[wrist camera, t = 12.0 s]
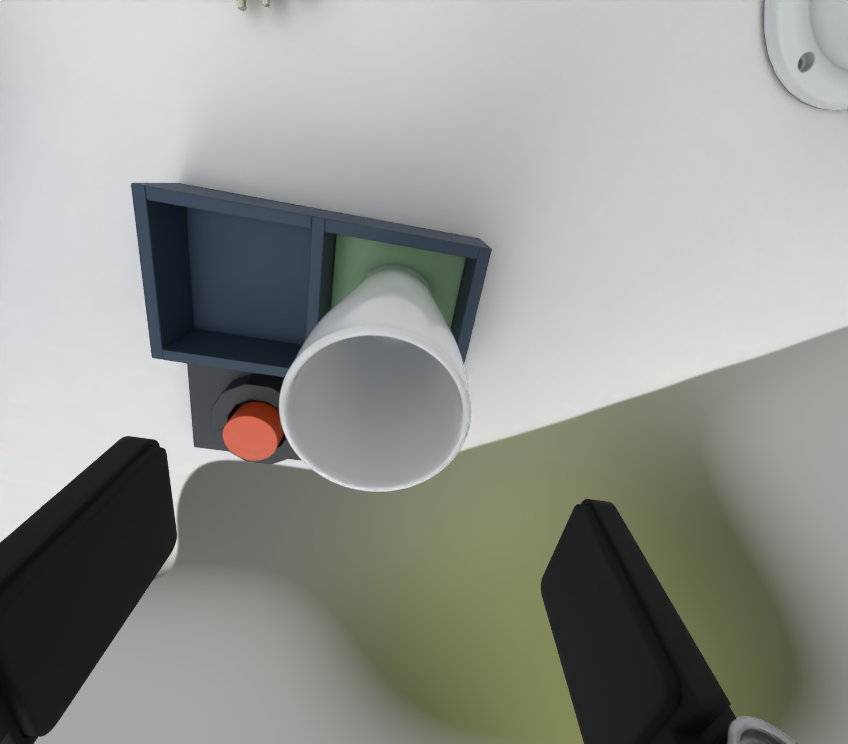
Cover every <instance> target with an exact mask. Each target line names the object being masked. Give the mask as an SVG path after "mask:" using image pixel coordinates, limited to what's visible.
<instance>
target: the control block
mask: <svg viewBox="0 0 848 744" xmlns="http://www.w3.org/2000/svg"><path fill="white" fill-rule="evenodd" d="M187 365H188V377H189V389H190V402H191V414H192V427H193V439H194V447H199V448H207V449H215V450H223V451H229V452H231V451H230V450H229V449H228V448H227V446H226V445H225V442H224V440H223V429H224V427H225V425H226V424H227V422H228V421H229V420H230V419H231V417H232V416H233V415H234V413H235V412H236V411H237V410H238V408H239V407H241V406H242V405H244V404H246V403H249V402H264V403H267V404H269V405H271V406H273V407H275V408H276V409H277V410H278V411H279V397H280V391H281V387H282V384H283V380H284V378H285V377H280V376H273V375H266V374H259V373H252V372H245V371H238V370H231V369H224V368H217V367H210V366H204V365H197V364H190V363H187ZM231 453H232V452H231ZM233 454H234V453H233ZM234 455H235V454H234ZM241 459H243V458H241ZM286 459H295V460H301V459H300V458H299V456H298V455H297V454H296V453H295V451H294V450H293V448H292V447H291V446H290V444H289V442H288V440H287V438H286V436H285V433H284V435H283V437H282V439H281V441H280V443H279V445H278V447H277V449H276V450H275V452H274V453H273V454H272V455H271V456H269V457H268V458H265V459H263V460H256V461H253V460H246V459H243V460H245V461H248V462H256V463H263V464H273V463H276V462H280V461H283V460H286Z"/></svg>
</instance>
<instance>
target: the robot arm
mask: <svg viewBox="0 0 848 744" xmlns="http://www.w3.org/2000/svg"><path fill="white" fill-rule="evenodd" d="M764 33H765V39H766V44H767V50H768V56H769V58H770V61H771V63H772V65H773V68H774V70H775V73H776V75H777V77H778V78H779V79H780V81H781V82H782V83H783V85H784V86H785V87H786V89H787V90H788V91H789V92H790V93H792V94H793V95H794V96H796V97H797V98H798V99H799V100H801V101H802V102H804V103H807V104H809V105H812V106H815V107H817V108H820V109H830V110H847V109H848V0H765V5H764ZM176 539H177V531H176V523H175V516H174V508H173V500H172V492H171V485H170V477H169V469H168V461H167V454H166V450H165V449H164V448H160V446H159V443H158V442H157V441H156V440H152V439H145V438H138V437H130V436H126V437H123V438H121V439H120V440H119V441H117V442H116V443H115V444H114V445H113V446H112V447H110V448H109V449H108V450H107V451H106V452H105V453H104V454H102V455H101V456H100V457H99V458H98V459H97V460H95V461H94V462H93V463H92V464H91V465H90V466H89V467H87V468H86V469H85V470H84V471H83V472H82V473H80V474H79V475H78V476H77V477H76V478H75V479H73V480H72V481H71V482H70V483H69V484H68V485H67V486H65V487H64V488H63V489H62V490H61V491H60V492H58V493H57V494H56V495H55V496H54V497H53V498H52V499H50V500H49V501H48V502H47V503H46V504H45V505H43V506H42V507H41V508H40V509H39V510H38V511H36V512H35V513H34V514H33V515H32V516H31V517H30V518H28V519H27V520H26V521H25V522H24V523H23V524H21V525H20V526H19V527H18V528H17V529H16V530H15V531H13V532H12V533H11V534H10V535H9V536H8V537H6V538H5V539H4V540H3V541H2V542H1V543H0V744H34V742H35V741H36V739H37V738H38V736H44V735H46V734H47V733H49V731H51V730H52V729H53V727H54V726H55V725H56V724H57V722H58V721H59V720H60V718H61V717H62V715H63V713H64V712H65V711H66V709H67V708H68V706H69V705H70V703H71V701H72V700H73V699H74V697H75V696H76V694H77V693H78V691H79V690H80V688H81V687H82V685H83V684H84V682H85V681H86V679H87V678H88V676H89V675H90V673H91V672H92V670H93V669H94V667H95V666H96V664H97V663H98V661H99V659H100V658H101V657H102V655H103V654H104V652H105V651H106V649H107V648H108V646H109V645H110V643H111V642H112V640H113V639H114V637H115V636H116V634H117V633H118V631H119V630H120V629H121V627H122V626H123V624H124V623H125V621H126V620H127V618H128V617H129V615H130V614H131V612H132V611H133V609H134V608H135V606H136V605H137V603H138V602H139V600H140V598H141V597H142V596H143V594H144V593H145V591H146V590H147V588H148V587H149V585H150V584H151V582H152V581H153V579H154V578H155V576H156V575H157V573H158V572H159V570H160V569H161V567H162V566H163V564H164V563H165V561H166V560H167V558H168V557H169V555H170V554H171V552H172V550H173V548H174V546H175V543H176ZM541 593H542V597H543V601H544V605H545V608H546V611H547V615H548V619H549V622H550V626H551V629H552V633H553V636H554V640H555V643H556V646H557V650H558V654H559V657H560V661H561V664H562V667H563V671H564V674H565V678H566V681H567V685H568V688H569V692H570V695H571V699H572V703H573V706H574V709H575V713H576V717H577V720H578V724H579V727H580V731H581V734H582V738H583V741H584V744H797V743H796V742H794V741H793V740H792V739H791V738H790V737H788V736H787V735H786V734H785V733H784V732H782V731H780V730H779V729H777V728H776V727H774V726H772V725H771V724H769V723H767V722H766V721H763V720H760V719H757V718H754V717H739V718H737V719H736V717H735V715H734V713H733V712H732V710H731V708H730V706H729V705H730V702H729V700H728V698H727V697H726V695H725V693H724V692H723V690H722V688H721V687H720V685H719V683H718V681H717V680H716V678H715V676H714V675H713V673H712V671H711V669H710V668H709V666H708V664H707V663H706V661H705V659H704V657H703V656H702V654H701V652H700V651H699V649H698V647H697V646H696V644H695V642H694V640H693V639H692V637H691V635H690V634H689V632H688V630H687V628H686V627H685V625H684V623H683V622H682V620H681V618H680V616H679V615H678V613H677V611H676V610H675V608H674V606H673V605H672V603H671V601H670V599H669V598H668V596H667V594H666V593H665V591H664V589H663V587H662V586H661V584H660V582H659V581H658V579H657V577H656V576H655V574H654V572H653V570H652V569H651V567H650V565H649V564H648V562H647V560H646V558H645V557H644V555H643V553H642V552H641V550H640V548H639V546H638V545H637V543H636V541H635V540H634V538H633V536H632V534H631V533H630V531H629V529H628V528H627V526H626V524H625V523H624V521H623V519H622V517H621V516H620V514H619V512H618V511H617V509H616V507H615V506H614V505H613V504H612V503H611V502H606V501H598V500H591V499H585V500H584V501H583V502H582V503H581V504H577V505H576V506H575V507H574V509H573V511H572V514H571V516H570V518H569V520H568V522H567V524H566V527H565V529H564V531H563V533H562V536H561V538H560V540H559V542H558V544H557V547H556V549H555V551H554V553H553V555H552V557H551V560H550V562H549V564H548V566H547V569H546V571H545V573H544V575H543V577H542V581H541Z"/></svg>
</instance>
